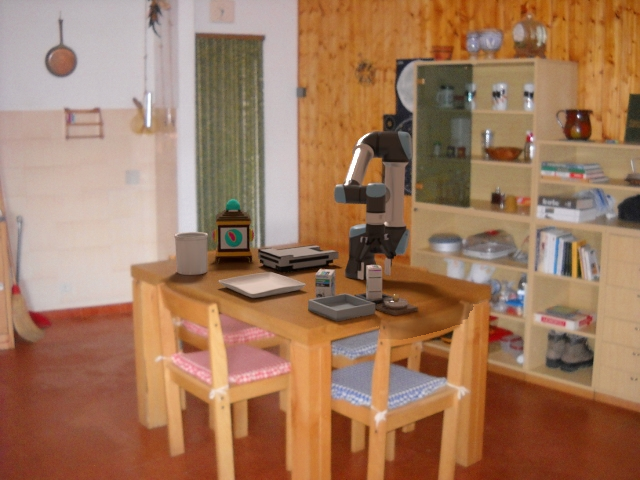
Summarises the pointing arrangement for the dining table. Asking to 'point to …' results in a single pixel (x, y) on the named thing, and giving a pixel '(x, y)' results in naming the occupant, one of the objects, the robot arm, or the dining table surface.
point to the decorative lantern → (233, 232)
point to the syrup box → (373, 282)
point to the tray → (341, 307)
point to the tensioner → (390, 304)
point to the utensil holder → (191, 253)
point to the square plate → (262, 284)
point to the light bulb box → (324, 283)
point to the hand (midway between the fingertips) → (374, 276)
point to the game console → (296, 258)
